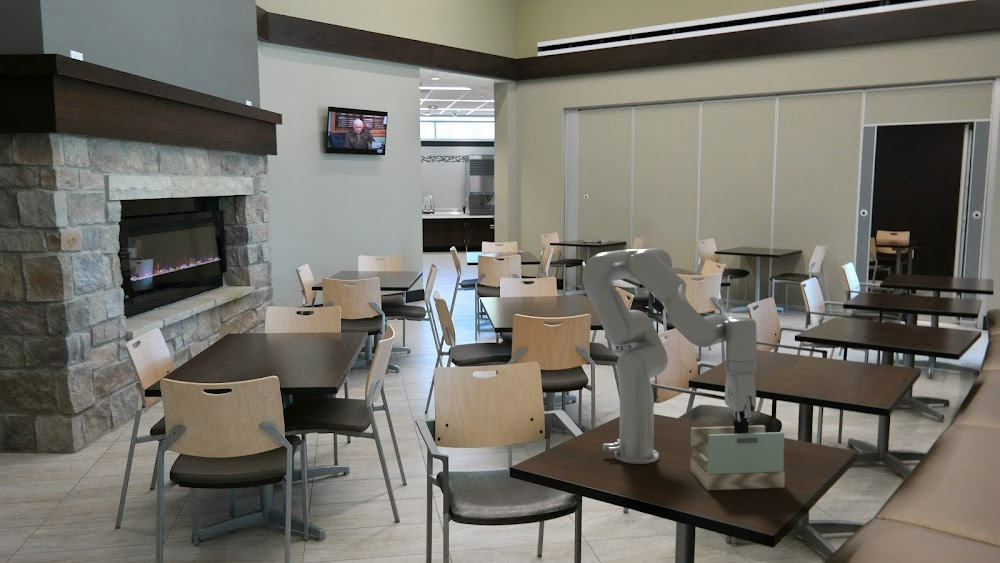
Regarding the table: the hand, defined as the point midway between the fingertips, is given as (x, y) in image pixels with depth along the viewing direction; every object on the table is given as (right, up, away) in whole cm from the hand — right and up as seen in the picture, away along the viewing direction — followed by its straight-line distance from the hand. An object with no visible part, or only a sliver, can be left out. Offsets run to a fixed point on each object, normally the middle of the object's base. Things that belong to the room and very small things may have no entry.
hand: (741, 435), depth 197 cm
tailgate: (0, -9, -4) cm, 10 cm away
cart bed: (0, -12, +3) cm, 12 cm away
